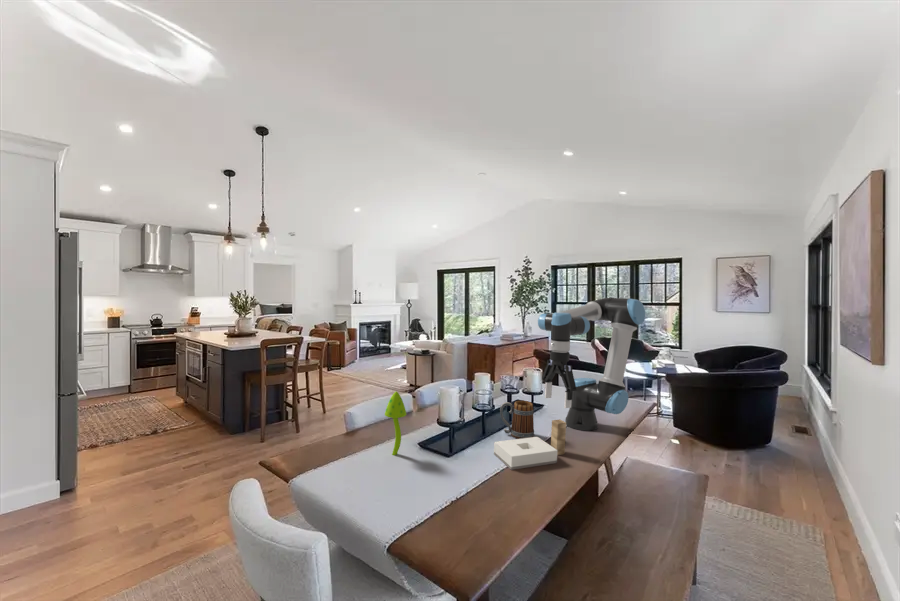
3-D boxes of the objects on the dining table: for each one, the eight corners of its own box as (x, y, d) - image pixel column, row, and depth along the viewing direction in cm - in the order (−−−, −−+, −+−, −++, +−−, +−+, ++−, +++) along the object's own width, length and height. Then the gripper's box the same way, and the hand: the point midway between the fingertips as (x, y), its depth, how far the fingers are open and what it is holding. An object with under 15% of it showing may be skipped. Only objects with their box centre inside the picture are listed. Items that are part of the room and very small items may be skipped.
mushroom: (388, 448, 164) (389, 387, 163) (407, 451, 163) (409, 389, 162) (380, 457, 156) (382, 393, 155) (401, 460, 155) (403, 395, 153)
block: (536, 448, 170) (537, 436, 170) (556, 462, 157) (557, 450, 157) (493, 454, 163) (494, 441, 163) (511, 469, 150) (511, 456, 149)
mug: (532, 432, 188) (534, 400, 187) (535, 441, 177) (536, 407, 177) (498, 430, 190) (500, 398, 189) (499, 438, 179) (500, 405, 178)
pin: (558, 450, 169) (560, 419, 168) (564, 454, 165) (566, 422, 165) (550, 451, 168) (552, 420, 167) (556, 455, 164) (557, 423, 163)
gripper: (535, 346, 175) (533, 394, 176) (571, 357, 152) (568, 413, 153) (550, 345, 177) (548, 393, 179) (587, 356, 154) (585, 411, 155)
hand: (557, 402), depth 166 cm, fingers open, 13 cm apart
